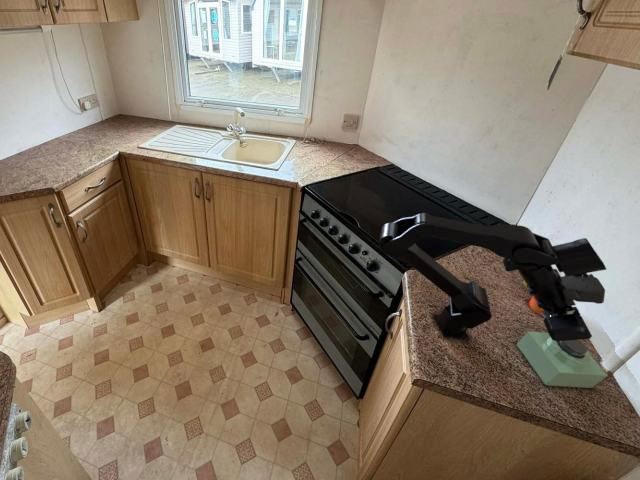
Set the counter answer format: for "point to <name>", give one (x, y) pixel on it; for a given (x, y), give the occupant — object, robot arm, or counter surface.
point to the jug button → (573, 348)
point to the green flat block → (559, 362)
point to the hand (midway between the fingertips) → (570, 328)
